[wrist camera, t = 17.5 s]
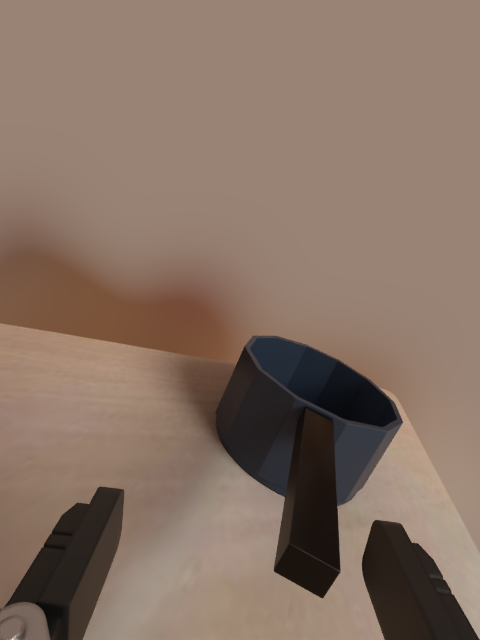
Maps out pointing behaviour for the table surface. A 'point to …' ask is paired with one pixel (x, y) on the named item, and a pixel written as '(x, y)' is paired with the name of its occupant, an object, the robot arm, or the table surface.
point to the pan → (305, 444)
